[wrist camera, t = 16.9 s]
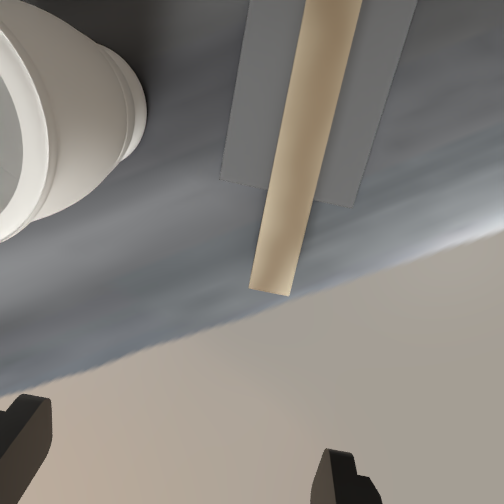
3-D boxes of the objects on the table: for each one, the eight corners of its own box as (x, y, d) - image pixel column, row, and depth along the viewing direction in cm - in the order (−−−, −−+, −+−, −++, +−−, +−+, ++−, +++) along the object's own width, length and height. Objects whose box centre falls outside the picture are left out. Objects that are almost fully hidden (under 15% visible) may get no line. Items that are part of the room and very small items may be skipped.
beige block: (251, 270, 32) (248, 288, 29) (310, -23, 24) (313, -37, 21) (288, 278, 32) (288, 296, 29) (359, -14, 24) (368, -26, 21)
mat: (220, 178, 30) (219, 179, 29) (265, -87, 23) (265, -90, 23) (351, 206, 30) (352, 208, 29) (431, -50, 24) (434, -52, 23)
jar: (93, -13, 26) (-130, -131, 12) (192, 125, 28) (105, 162, 15) (-12, 89, 28) (-290, 91, 15) (87, 205, 31) (-69, 299, 18)
